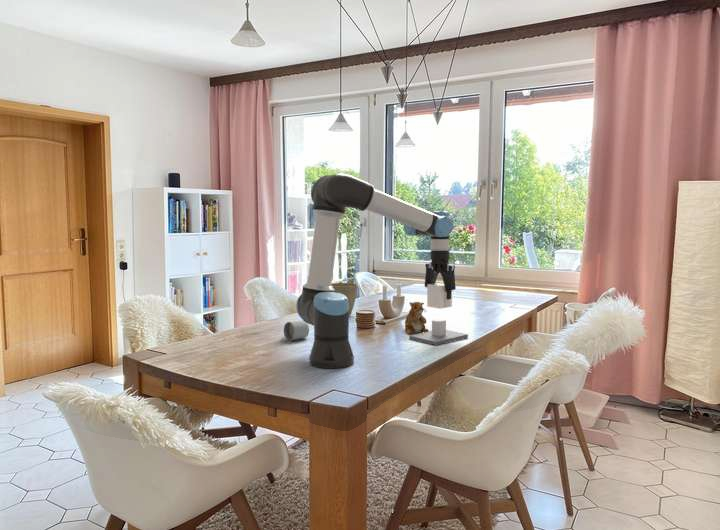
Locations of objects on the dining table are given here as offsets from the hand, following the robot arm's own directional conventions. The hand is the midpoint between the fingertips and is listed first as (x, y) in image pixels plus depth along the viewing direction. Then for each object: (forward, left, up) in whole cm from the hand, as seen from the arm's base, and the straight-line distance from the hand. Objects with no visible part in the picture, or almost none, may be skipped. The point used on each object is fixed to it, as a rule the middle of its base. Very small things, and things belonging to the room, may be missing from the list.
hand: (439, 305), depth 212 cm
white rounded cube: (0, 0, 0) cm, 0 cm away
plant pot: (+1, +64, -14) cm, 66 cm away
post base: (0, 0, -13) cm, 13 cm away
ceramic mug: (-45, +38, -14) cm, 61 cm away
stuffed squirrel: (+3, +17, -14) cm, 22 cm away
